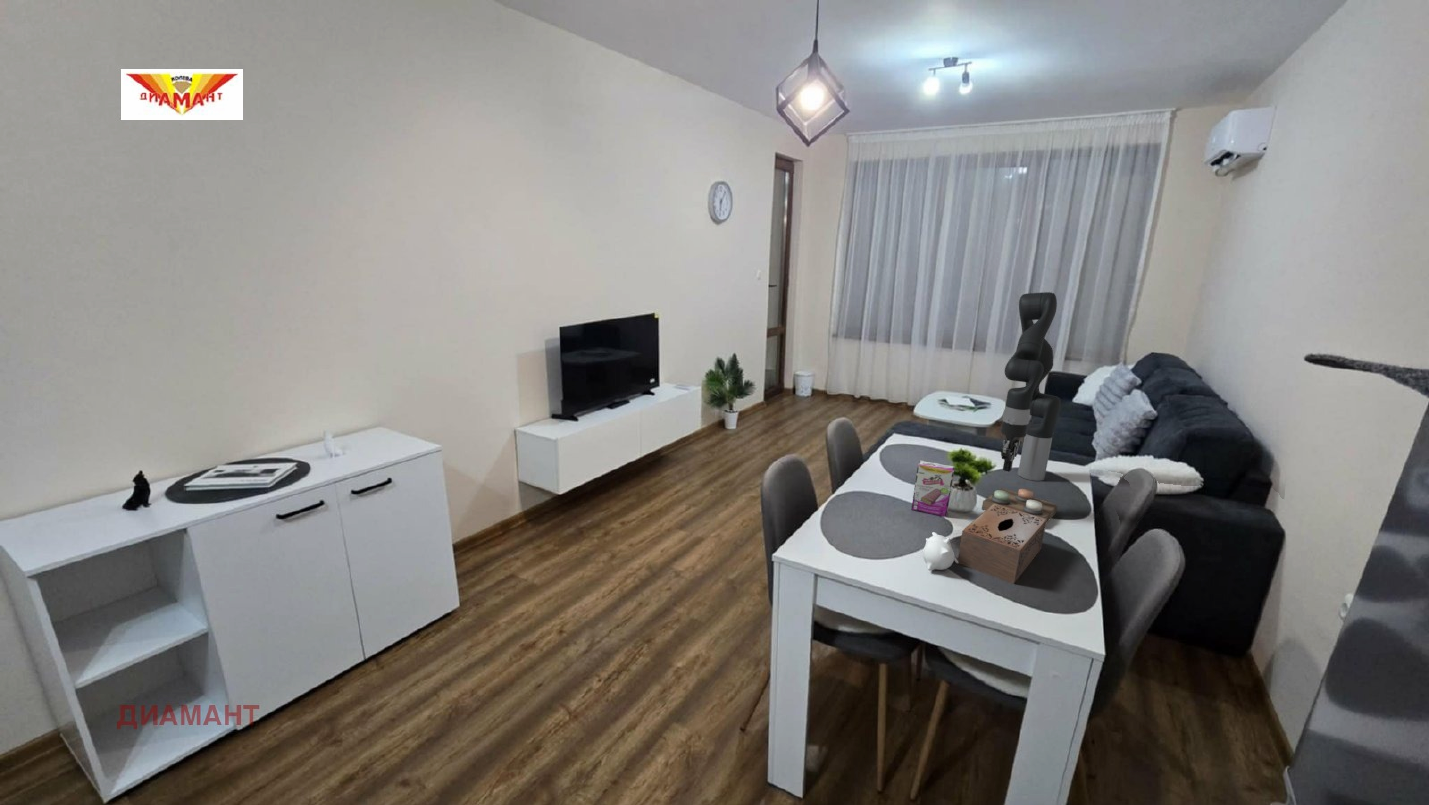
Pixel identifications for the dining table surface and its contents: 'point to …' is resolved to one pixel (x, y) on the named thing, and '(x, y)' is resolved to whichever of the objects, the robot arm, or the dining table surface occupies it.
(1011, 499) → the walnut button panel
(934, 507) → the candy bar box
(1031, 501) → the cream button
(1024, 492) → the terracotta button
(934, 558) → the cat figurine
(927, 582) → the dining table surface
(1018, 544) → the tissue box cover
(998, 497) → the sage-green button
